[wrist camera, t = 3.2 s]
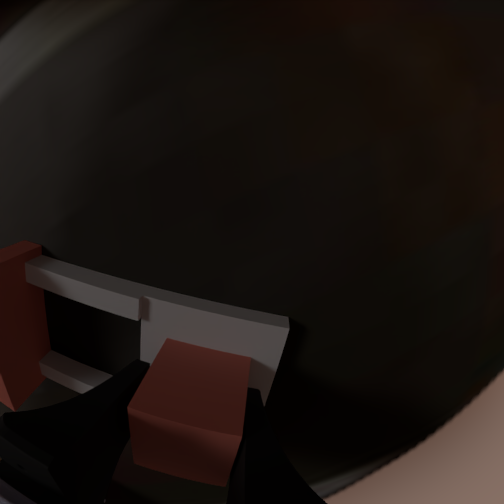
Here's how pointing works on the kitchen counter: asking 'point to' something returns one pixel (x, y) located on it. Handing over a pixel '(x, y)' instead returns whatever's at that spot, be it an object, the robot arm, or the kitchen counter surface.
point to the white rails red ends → (146, 359)
